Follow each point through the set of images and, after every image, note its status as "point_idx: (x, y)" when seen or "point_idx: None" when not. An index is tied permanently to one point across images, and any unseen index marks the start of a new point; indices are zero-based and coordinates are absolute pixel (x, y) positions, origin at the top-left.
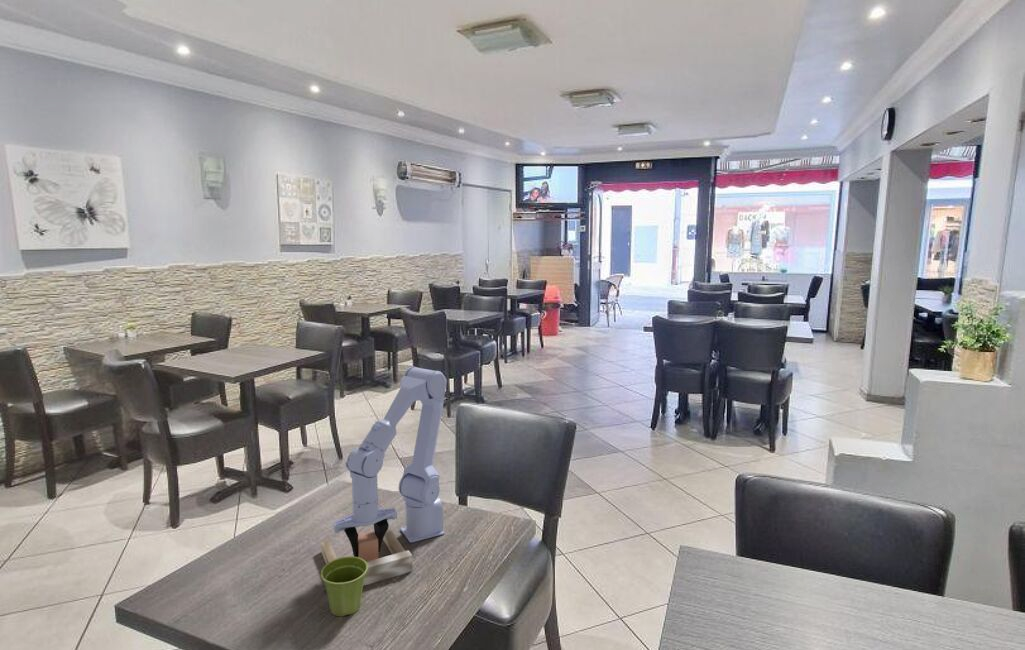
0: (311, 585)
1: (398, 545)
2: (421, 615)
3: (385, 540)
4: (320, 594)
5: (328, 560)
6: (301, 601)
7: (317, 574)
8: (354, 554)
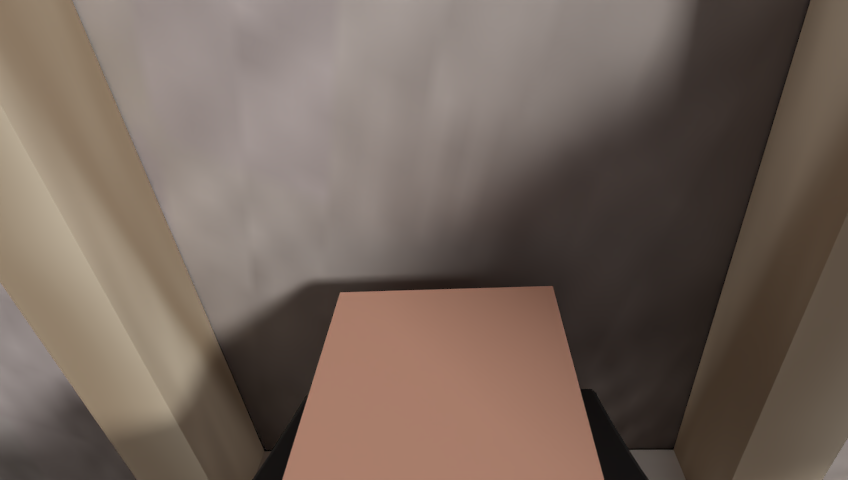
0: (35, 387)
1: (840, 389)
2: None
3: (834, 47)
4: (126, 468)
5: (53, 356)
6: (29, 476)
7: None
8: None
